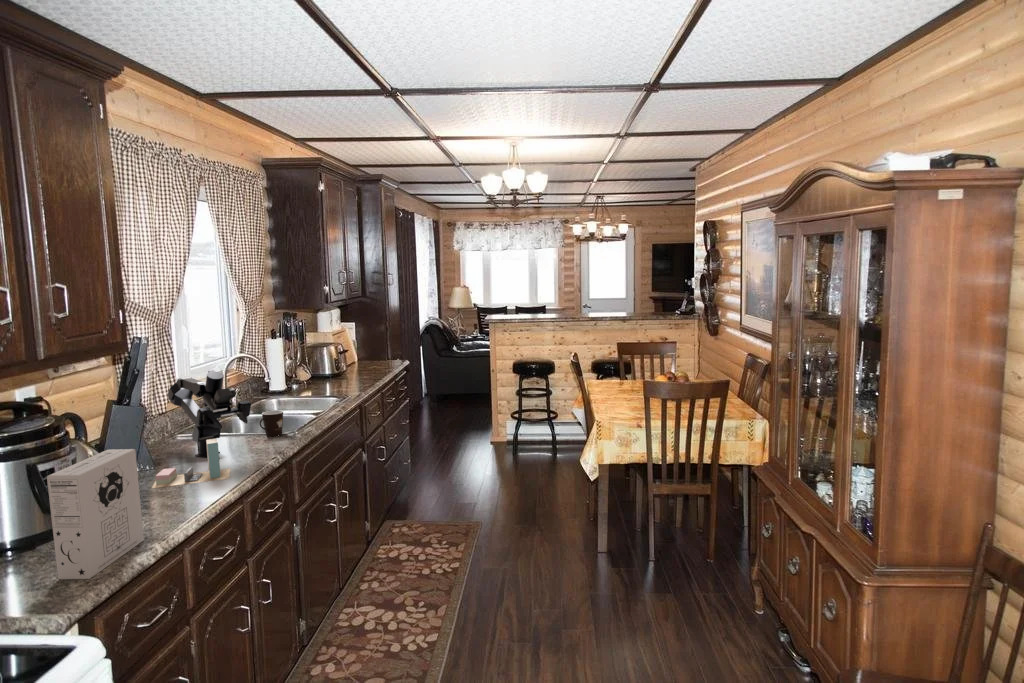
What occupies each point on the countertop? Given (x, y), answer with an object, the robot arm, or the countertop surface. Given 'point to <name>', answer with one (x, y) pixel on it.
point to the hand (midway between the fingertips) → (234, 424)
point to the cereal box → (95, 512)
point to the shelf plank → (204, 478)
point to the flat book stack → (166, 476)
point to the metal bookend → (191, 475)
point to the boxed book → (213, 458)
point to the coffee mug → (272, 422)
